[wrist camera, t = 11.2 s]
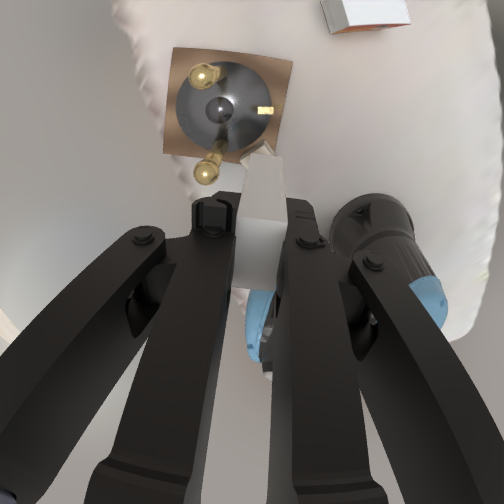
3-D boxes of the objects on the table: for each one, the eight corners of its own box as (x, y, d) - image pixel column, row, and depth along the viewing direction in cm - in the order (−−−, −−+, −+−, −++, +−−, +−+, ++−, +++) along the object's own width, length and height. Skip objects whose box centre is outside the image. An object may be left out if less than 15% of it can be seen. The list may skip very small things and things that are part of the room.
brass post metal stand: (271, 152, 42) (271, 191, 31) (182, 151, 42) (149, 189, 31) (274, 61, 34) (276, 60, 23) (177, 64, 35) (137, 68, 23)
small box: (329, 34, 32) (347, 27, 24) (319, 0, 29) (334, -17, 20) (382, 30, 30) (413, 25, 22) (372, -4, 27) (400, -18, 19)
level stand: (270, 167, 45) (270, 181, 40) (164, 151, 44) (151, 164, 39) (292, 61, 35) (295, 61, 30) (175, 47, 34) (161, 46, 29)
